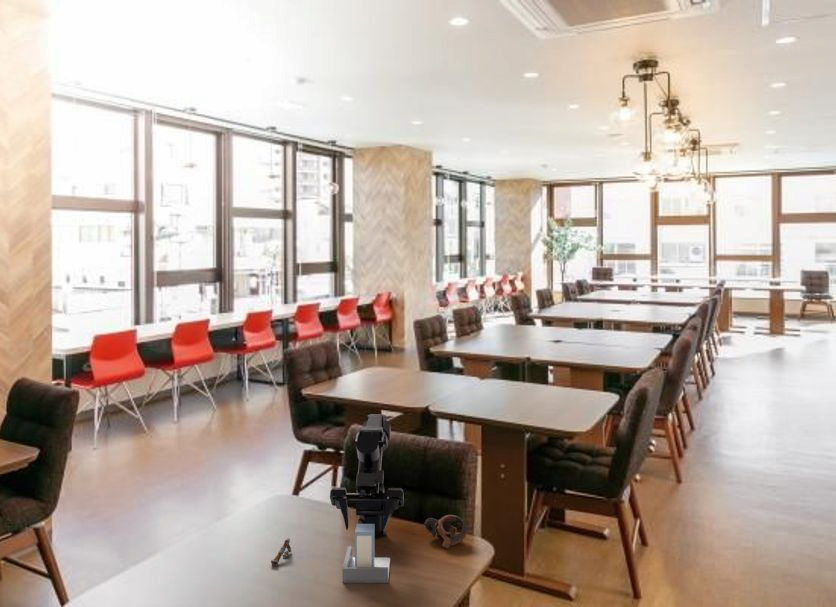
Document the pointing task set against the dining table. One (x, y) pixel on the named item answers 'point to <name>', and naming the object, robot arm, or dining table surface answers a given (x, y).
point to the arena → (365, 570)
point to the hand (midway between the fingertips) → (365, 529)
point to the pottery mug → (446, 529)
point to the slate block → (365, 545)
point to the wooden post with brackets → (280, 553)
